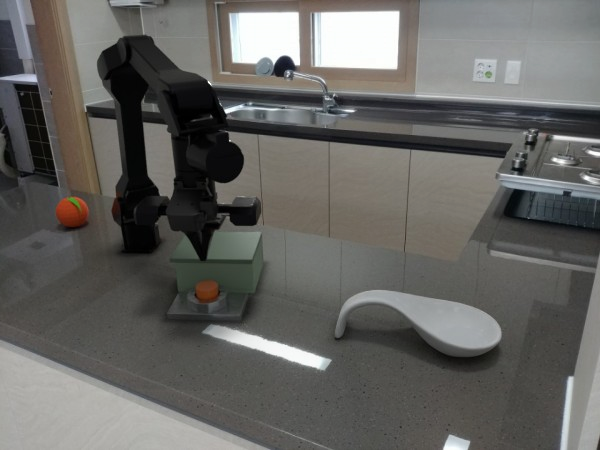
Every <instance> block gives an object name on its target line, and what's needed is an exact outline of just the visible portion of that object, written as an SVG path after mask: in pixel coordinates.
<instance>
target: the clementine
mask: <svg viewBox="0 0 600 450" xmlns="http://www.w3.org/2000/svg"><path fill="white" fill-rule="evenodd" d="M89 212H90V211H89V207H88V204H87V203H86V201H84V200H83V199H82V198H79V197H77V196H68V197H65V198H63V199H62V200H60V201H59V202H58V203H57V205H56V207H55V216H56V219H57V220H58V222H59V223H60V224H62V225H63V226H65V227H67V228H77V227H79V226H82V225H83V224H84V223H85V222H86V221H87V220H88V218H89V214H90V213H89Z"/></svg>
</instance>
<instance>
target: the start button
mask: <svg viewBox="0 0 600 450" xmlns="http://www.w3.org/2000/svg"><path fill="white" fill-rule="evenodd" d="M218 294H219V293H218V284H217V283H216V282H215V281H211V280H207V281H202V282H199V283H198V284H197V285H196V296H197V298H198V299H200V300H210V299H214V298H216V297H217V296H218Z"/></svg>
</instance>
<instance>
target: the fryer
mask: <svg viewBox="0 0 600 450" xmlns="http://www.w3.org/2000/svg"><path fill="white" fill-rule="evenodd" d="M263 267H264V243H263V236H262V237H261V240H260V243H259V246H258V249H257V252H256V255H255V257H254V260H253V263H252V264H242V263H174V270H175V277H176V284H177V293H178V292H179V291H187V292H189V290H191V289H193V288H194V287H196V285H197V284H198V283H199V282H202V281H207V280H211V281H215V282H216V283H217V284H219V285H222V286H224V287H225V288H226V289H227V291H228V292H234V293H248V294H255V293H256V289H257V286H258V283H259V280H260V276H261V273H262V270H263Z"/></svg>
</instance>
